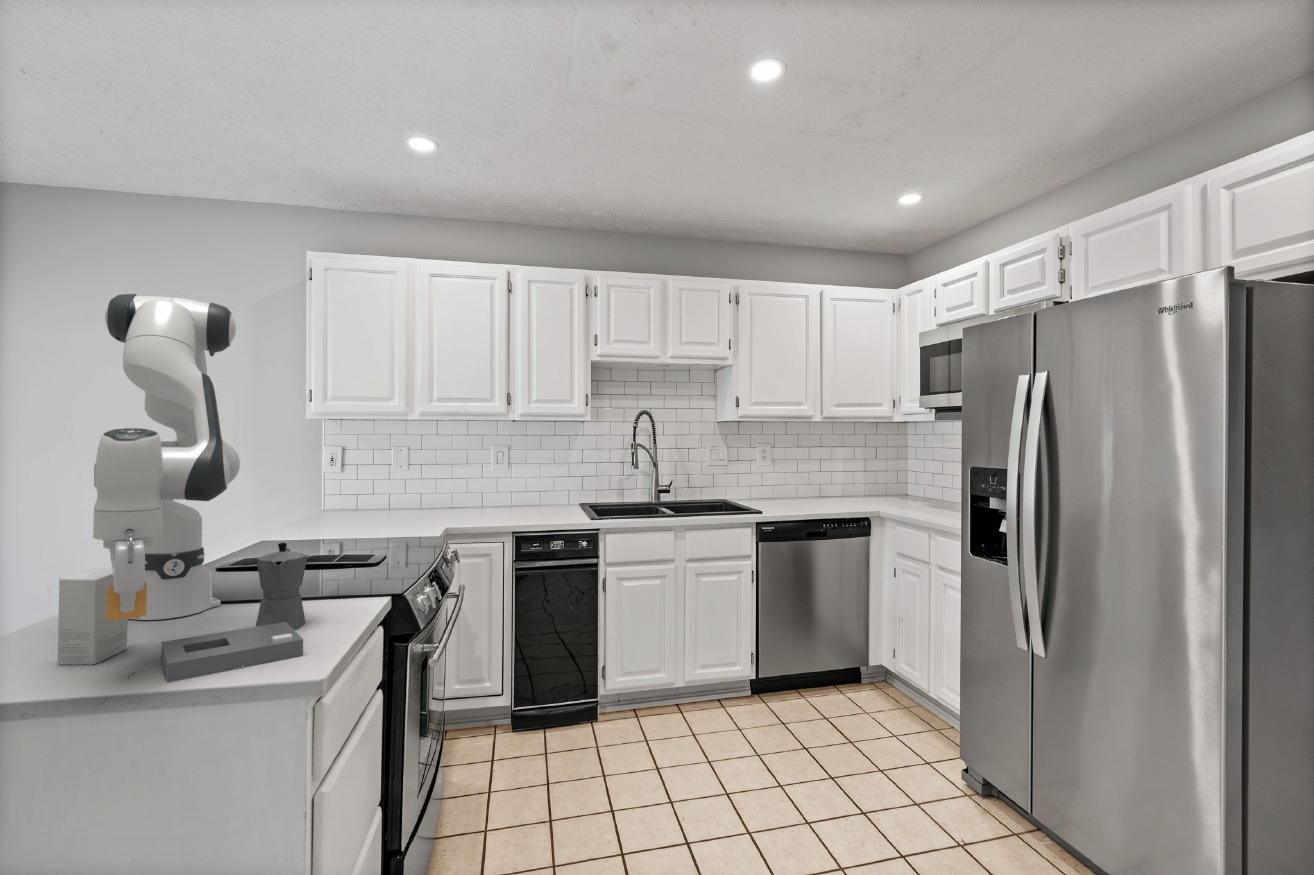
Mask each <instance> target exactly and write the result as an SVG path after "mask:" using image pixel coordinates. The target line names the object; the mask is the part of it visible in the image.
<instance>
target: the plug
mask: <svg viewBox="0 0 1314 875" xmlns="http://www.w3.org/2000/svg"><path fill="white" fill-rule="evenodd" d="M146 606H147V584H146V582H145V584H144V589H143V590H142V591H137V592H136V597H135V609H134V610H133V611H132V612H125V613H122V612H121V611H120V593H115V591H114V585H109V586H107V621H109V620H116V623H118V619H123V618H131V617H135V619H134V620H137V619H140V616H146Z"/></svg>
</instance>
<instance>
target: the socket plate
mask: <svg viewBox="0 0 1314 875" xmlns="http://www.w3.org/2000/svg"><path fill="white" fill-rule="evenodd" d="M296 656H297V657H301V656H304V639H303V637H302V636H301V635H300V634H299V633H298V632H297V631H296V629H293V628H292V627H291V626H290V625H289V624H288V623H287V622H282V623H276V624H270V625H263V626H257V627H256V626H252V627H247V628H246V627H245V628H240V629H239V628H238V629H234V630H229V631H228V630H227V631H219V632H216V633H215V632H214V633H209V634H204V635H202V634H201V635H196V636H190V637H183V638H177V639H171V640H165V641H161V642H160V660H161V663H162V664H161V665H162V667H164V668H163V671H164V674H165V678H166V680H167V683H170V682H174V681H179V680H183V679H185V680H186V679H189V678H195V677H200V676H205V675H209V674H215V673H219V672H225V671H224V670H226V671H230V670H234V669H233V668H236V669H240V668H239V667H241V668H243V667H242V666H246V667H250V666H249V665H251V666H255V665H260V664H265V663H271V662H275V661H276V660H277V661H281V660H280V659H282V660H287V659H290V658H289V657H292V658H297V657H296ZM286 658H287V659H286ZM270 661H271V662H270ZM277 661H276V662H277Z"/></svg>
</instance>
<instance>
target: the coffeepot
mask: <svg viewBox="0 0 1314 875" xmlns="http://www.w3.org/2000/svg"><path fill="white" fill-rule="evenodd" d="M277 545H278V551H276V552H272V553H269V554H268V553H267V554H265V555H262V556H259V557H256V563H257V571H258V577H259V585H260V589H261V590H262V591H263V592H262V594H263V595H262V598H261V599H260V604H259V608H258V613H257V618H256V623H255V627H257V626H263V625H270V624H276V623H282V622H287V623H288V624H289V625H290V626H291V627H292V628H293V629H294V630H296V629H300V628H302V627H303V626H304V625H305V624H306V616H305V612H304V611H305V610H304V606H303V601H302V595H301V594H300V587H301V586H303V580H304V575H305V571H306V564H307V560H308V554H304V553H303V552H297V551H291V549H290V548H288V547H287V545H288V543H286V542H280V543H277Z"/></svg>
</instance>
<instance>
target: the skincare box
mask: <svg viewBox="0 0 1314 875" xmlns="http://www.w3.org/2000/svg"><path fill="white" fill-rule="evenodd" d="M58 579H59V580H58V618H57V619H58V620H57V621H58V624H57V625H58V626H57V628H58V629H57V663H56V664H57V666H70V665H69V664H72V665H71V666H83V665H82V664H85V665H84V666H89V665H88V664H95V665H96V663H97V664H98V663H101V662H103V661H105V660H106V659H108V658H109V659H110V658H111V657H113V656H115V655H117V654H119V653H121V652H123V651H126V650H128V631H129V630H128V625H129V624H128V622H129V621H128V620H129V619H128V618H123V619H118V623H116V620H109V621H107V586H109V585H114V582H113V569H112V567H95V568H90V569H88V570H85V571H81V572H80V571H79V572H78V573H74V574H70V575H68V576H64V577H61V578H58ZM104 659H105V660H104ZM100 661H101V662H100ZM67 664H68V665H67ZM86 664H87V665H86Z"/></svg>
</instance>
